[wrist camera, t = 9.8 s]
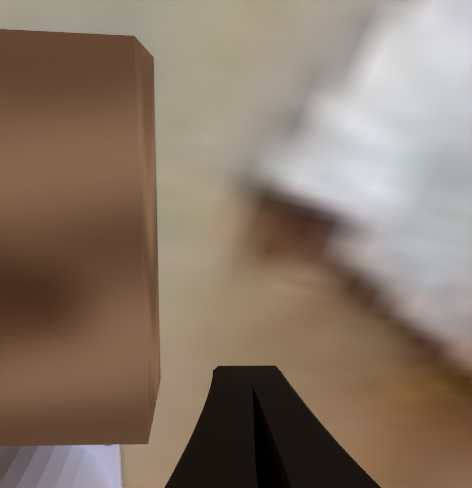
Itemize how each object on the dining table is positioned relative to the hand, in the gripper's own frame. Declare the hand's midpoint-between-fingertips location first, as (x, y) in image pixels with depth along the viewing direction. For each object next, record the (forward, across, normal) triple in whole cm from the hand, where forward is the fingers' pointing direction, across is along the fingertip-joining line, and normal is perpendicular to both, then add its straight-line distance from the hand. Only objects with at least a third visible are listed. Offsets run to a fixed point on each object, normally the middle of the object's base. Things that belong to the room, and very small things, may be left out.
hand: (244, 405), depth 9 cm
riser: (+9, +8, -1) cm, 12 cm away
